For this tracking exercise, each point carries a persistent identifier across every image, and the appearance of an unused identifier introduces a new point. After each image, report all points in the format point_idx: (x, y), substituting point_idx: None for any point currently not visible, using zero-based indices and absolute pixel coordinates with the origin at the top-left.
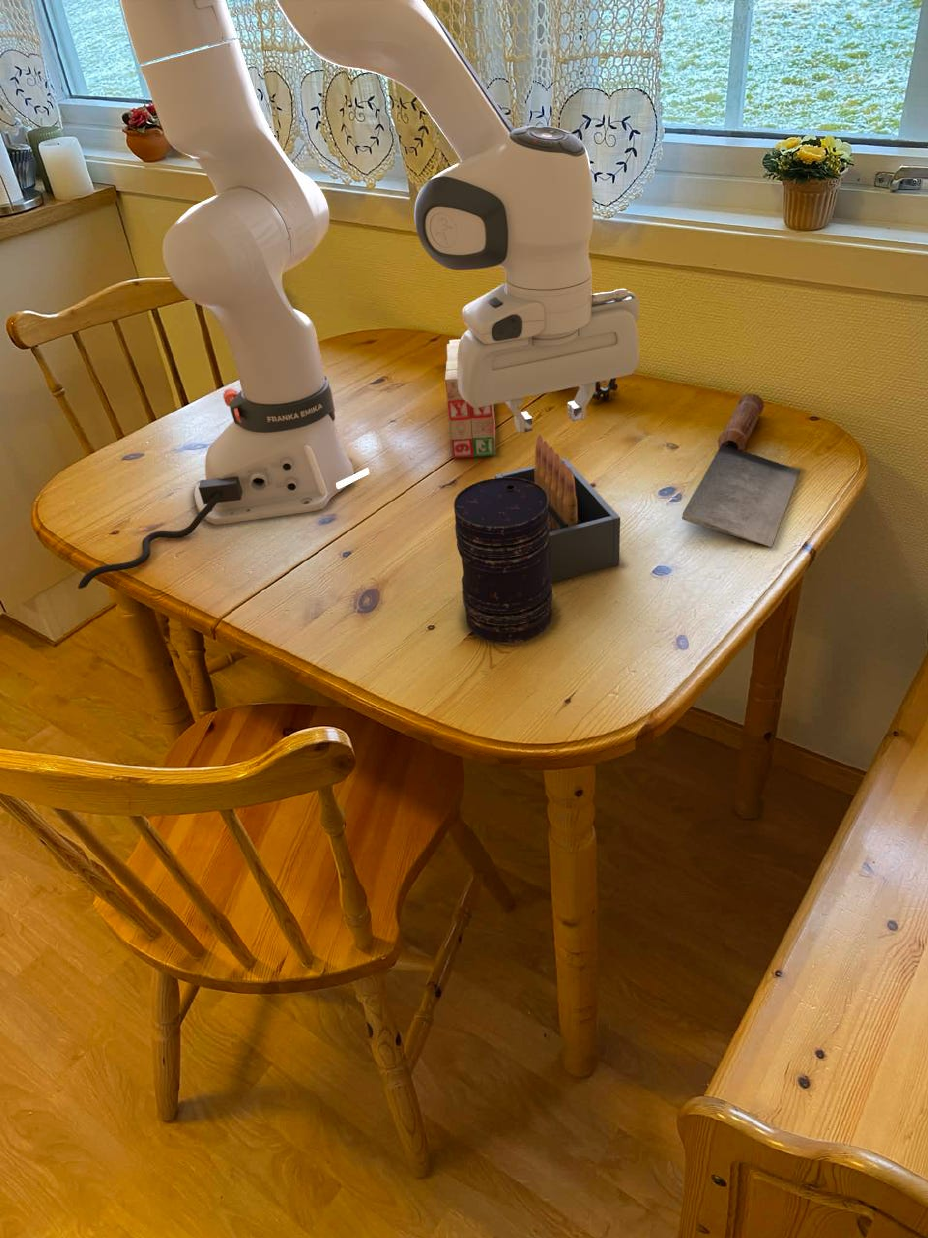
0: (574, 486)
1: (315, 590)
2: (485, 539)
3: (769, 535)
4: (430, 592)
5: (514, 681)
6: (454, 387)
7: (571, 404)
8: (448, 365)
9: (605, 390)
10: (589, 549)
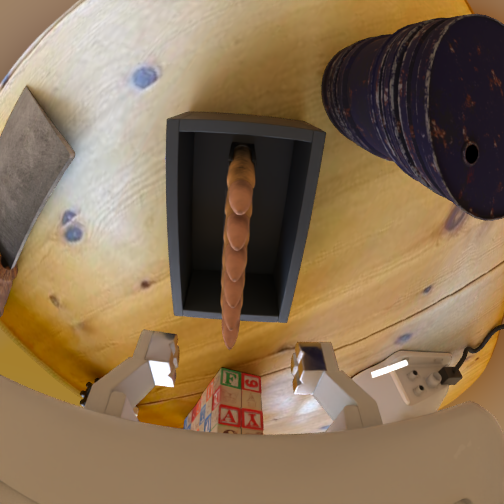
0: (233, 185)
1: (470, 253)
2: None
3: (18, 106)
4: (416, 191)
5: (414, 10)
6: None
7: (167, 377)
8: None
9: None
10: (232, 116)
